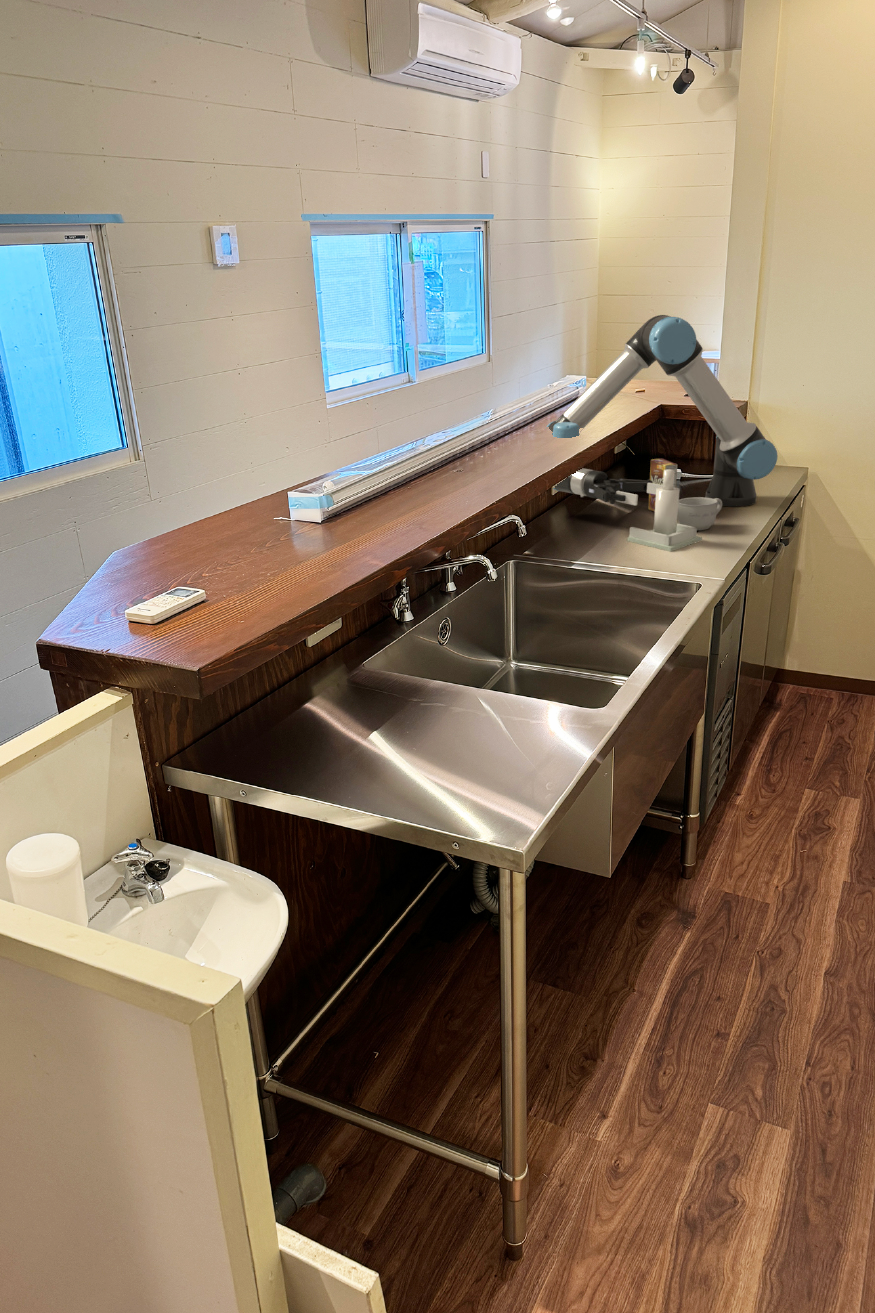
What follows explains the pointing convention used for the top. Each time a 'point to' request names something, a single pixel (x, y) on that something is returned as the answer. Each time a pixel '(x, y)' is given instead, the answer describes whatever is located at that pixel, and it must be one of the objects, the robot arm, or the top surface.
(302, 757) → the top surface
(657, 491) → the bottle
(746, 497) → the robot arm
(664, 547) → the U-rest
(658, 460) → the candy box
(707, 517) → the teacup
